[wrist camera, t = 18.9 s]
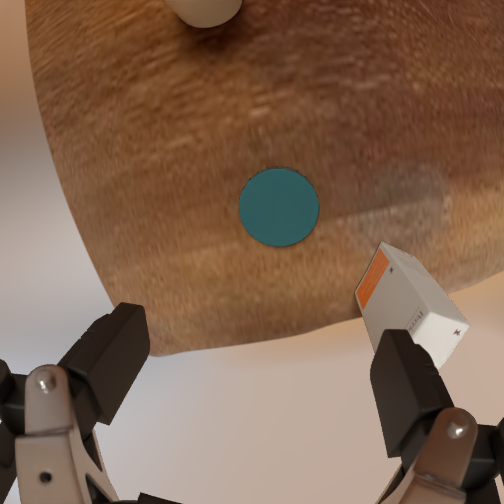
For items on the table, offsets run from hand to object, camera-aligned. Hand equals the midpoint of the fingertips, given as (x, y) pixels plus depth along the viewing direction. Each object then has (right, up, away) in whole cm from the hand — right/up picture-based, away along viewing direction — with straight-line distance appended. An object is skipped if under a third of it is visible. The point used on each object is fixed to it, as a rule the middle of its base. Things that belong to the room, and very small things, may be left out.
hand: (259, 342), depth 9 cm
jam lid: (+2, +7, +15) cm, 17 cm away
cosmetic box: (+12, +1, +18) cm, 22 cm away
